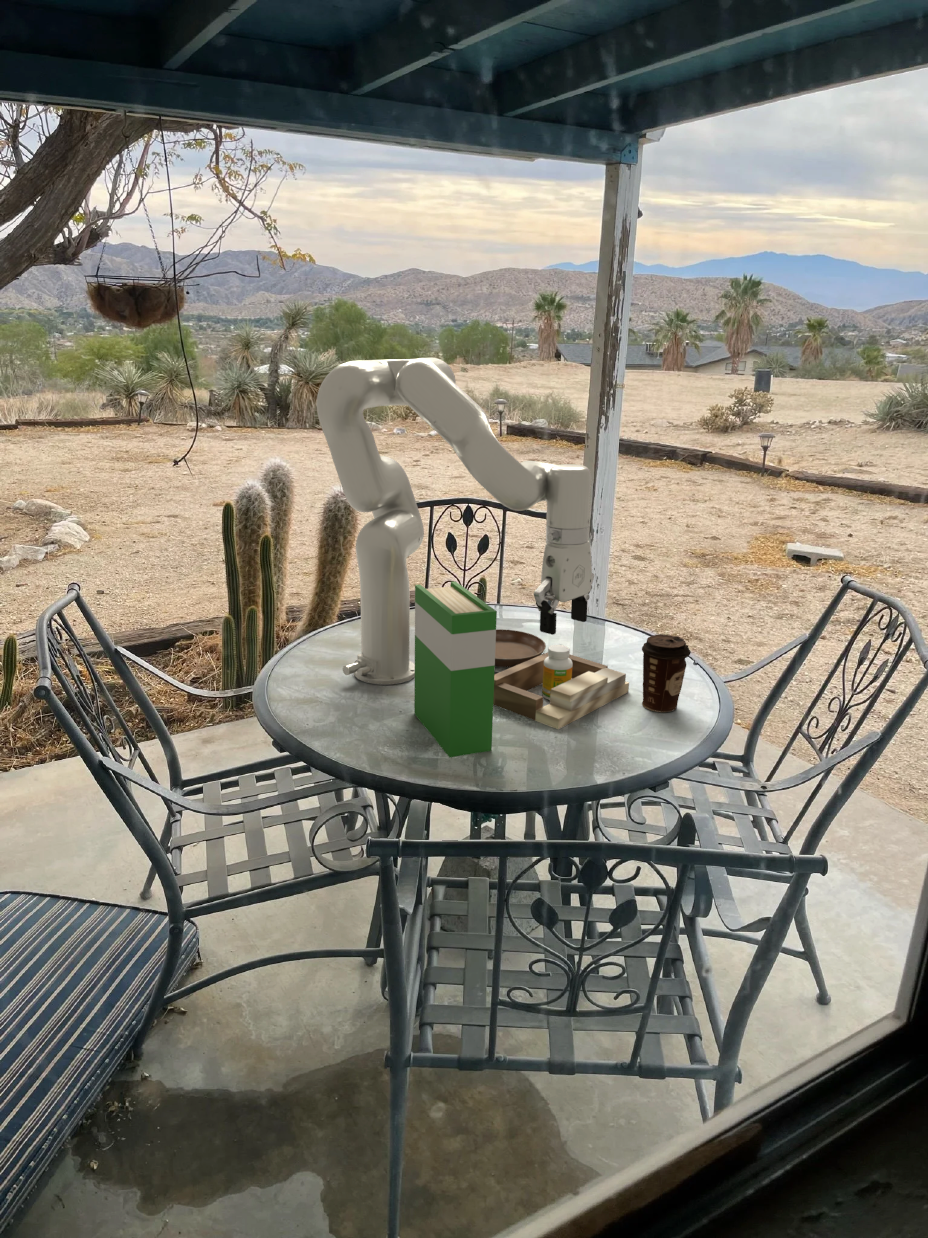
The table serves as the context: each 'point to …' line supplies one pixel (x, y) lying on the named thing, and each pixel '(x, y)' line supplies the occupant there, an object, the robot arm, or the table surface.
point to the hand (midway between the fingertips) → (563, 626)
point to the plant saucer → (516, 647)
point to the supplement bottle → (556, 668)
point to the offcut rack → (558, 691)
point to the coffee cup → (663, 671)
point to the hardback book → (455, 668)
